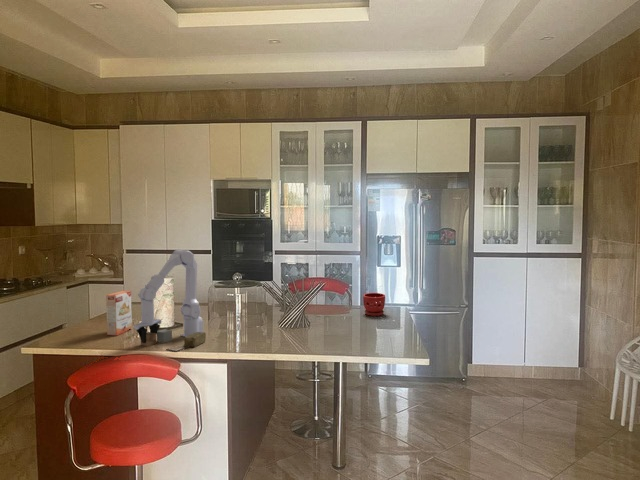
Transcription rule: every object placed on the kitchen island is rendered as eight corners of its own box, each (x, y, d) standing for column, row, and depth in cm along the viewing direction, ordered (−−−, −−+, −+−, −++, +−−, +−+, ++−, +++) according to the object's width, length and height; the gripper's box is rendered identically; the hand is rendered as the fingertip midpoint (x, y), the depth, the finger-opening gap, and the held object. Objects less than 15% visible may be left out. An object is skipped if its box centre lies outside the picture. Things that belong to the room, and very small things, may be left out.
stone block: (206, 341, 242) (206, 331, 242) (193, 348, 231) (193, 338, 231) (196, 341, 244) (196, 330, 243) (183, 347, 233) (182, 337, 233)
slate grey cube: (164, 339, 247) (164, 329, 247) (172, 340, 245) (171, 330, 244) (156, 341, 243) (156, 331, 243) (164, 342, 240) (163, 332, 240)
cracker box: (117, 336, 253) (115, 295, 252) (106, 335, 254) (105, 295, 253) (132, 329, 267) (131, 290, 265) (122, 328, 268) (121, 290, 267)
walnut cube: (149, 342, 241) (148, 332, 241) (156, 343, 239) (156, 333, 239) (140, 344, 237) (140, 334, 237) (147, 346, 235) (147, 335, 234)
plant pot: (359, 313, 302) (359, 293, 302) (377, 311, 308) (377, 292, 307) (370, 317, 291) (370, 297, 290) (389, 315, 296) (389, 295, 295)
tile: (176, 346, 234) (176, 345, 234) (186, 348, 230) (186, 347, 230) (166, 350, 228) (166, 348, 228) (176, 352, 225) (176, 350, 225)
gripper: (153, 309, 245) (154, 336, 246) (129, 315, 233) (130, 343, 234) (164, 310, 242) (164, 338, 243) (139, 316, 229) (140, 345, 230)
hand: (148, 341), depth 238 cm, fingers closed on walnut cube, 5 cm apart
